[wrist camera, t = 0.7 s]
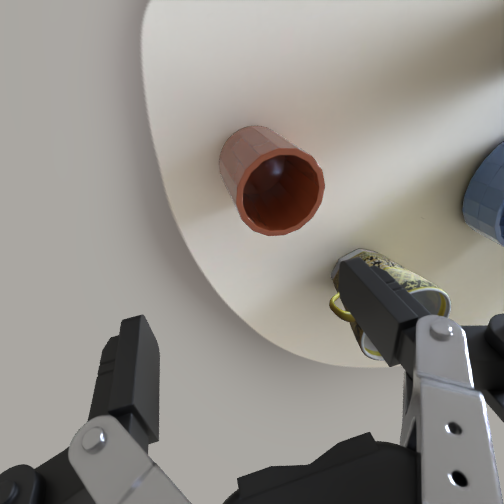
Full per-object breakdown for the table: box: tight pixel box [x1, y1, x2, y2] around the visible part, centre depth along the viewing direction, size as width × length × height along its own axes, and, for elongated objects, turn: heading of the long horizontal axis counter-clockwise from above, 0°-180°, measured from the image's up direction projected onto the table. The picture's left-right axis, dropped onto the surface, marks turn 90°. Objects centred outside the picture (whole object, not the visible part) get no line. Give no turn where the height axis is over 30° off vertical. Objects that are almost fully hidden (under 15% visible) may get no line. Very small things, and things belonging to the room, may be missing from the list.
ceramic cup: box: [329, 249, 451, 360], centre depth 34 cm, size 13×10×10 cm
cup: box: [219, 126, 325, 236], centre depth 25 cm, size 6×6×8 cm
